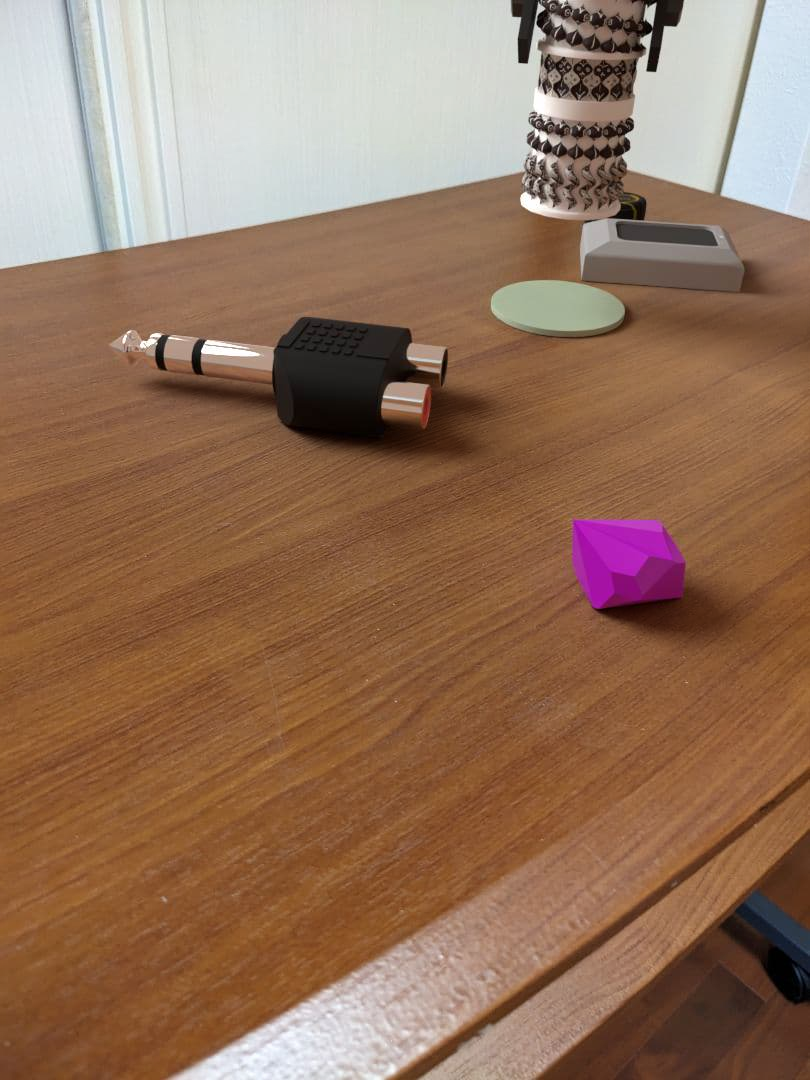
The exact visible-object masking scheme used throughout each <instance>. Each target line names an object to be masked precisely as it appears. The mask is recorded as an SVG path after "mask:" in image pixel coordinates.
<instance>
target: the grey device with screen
mask: <svg viewBox="0 0 810 1080" xmlns="http://www.w3.org/2000/svg"><path fill="white" fill-rule="evenodd" d="M579 257H580V258H579V259H580V279H581V281H582V282H594V283H595V282H597V283H610V284H623V285H637V286H651V287H665V288H677V289H691V290H705V291H716V292H717V291H718V292H719V291H720V292H732V293H740V291H741V287H742V284H743V279H744V275H745V272H746V271H745V270H746V269H745V266H744V263H743V262H742V259H741V257H740V254H739V253H738V251H737V248H736V246H735V244H734V242H733V240H732V238H731V235H730V234H729V232H728V231H727V230H726V228H724V227H722V226H721V225H715V224H713V225H712V224H701V223H700V224H699V223H684V222H683V223H682V222H681V223H680V222H670V221H669V222H667V221H654V220H644V221H640V220H625V219H610V218H606V219H602V220H598V221H594V222H590V223H586V224H585V223H584V224H582V229H581V238H580V244H579Z"/></svg>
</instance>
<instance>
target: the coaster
mask: <svg viewBox="0 0 810 1080" xmlns="http://www.w3.org/2000/svg"><path fill="white" fill-rule="evenodd" d="M490 309H491V312H492V314H493V316H495V317H496V318H497V320H499V321H500V322H502V323H504V324H505V325H507V326H510V327H512V328H514V329H517V330H520V331H523V332H527V333H531V334H535V335H540V336H541V335H542V336H546V337H547V336H548V337H555V338H585V337H592V336H593V337H594V336H597V335H602V334H605V333H608V332H611V331H613V330H615V329H617V328H619V326H621V324H622V323H623V321H624V319H625V315H626V308H625V305H624V303H623V302H622V301H621V300H620V299H619V298H617V297H616V296H615V295H613V294H612V293H610V292H608V291H605V290H603V289H600V288H598V287H595V286H592V285H587V284H584V283H579V282H573V281H568V280H567V281H566V280H557V279H556V280H554V279H537V280H534V279H533V280H525V281H520V282H519V281H518V282H515V283H511V284H508V285H505V286H503V287H501V288H499V289H497V291H496V292H494V293H493V295H492V297H491V299H490Z"/></svg>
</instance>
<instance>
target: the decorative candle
mask: <svg viewBox="0 0 810 1080" xmlns="http://www.w3.org/2000/svg"><path fill="white" fill-rule="evenodd" d="M656 3H657V0H539V2H538V4H539V5H540V6H541V7H543V8H544V9H543V10H542V11H540V12H538V14H537V15H536V20H535V25H536V26H537V28H539V29H540V30H541V32H542V34H544V36H543V37H542V38H539V39H537V41H536V44H535V48H536V49H537V51H540V52H541V53H540V62H539V71H538V80H537V87H535V88H534V98H533V109H534V110H533V111H531V112H530V113H529V115H528V119H527V121H528V124H529V125H530V126H531V127H533V128H534V129H533V130H531V131H530V132H528V133H527V134H526V140H525V141H526V144H527V145H528V146H530V148H532V149H531V150H530V151H529V152H528V153H527V154H526V155H525V156H524V157H523V158H524V159H523V163H522V165H523V169H524V170H525V173H524V175H523V176H522V178H521V187H522V190H523V191H524V192H523V193H522V194H521V195H520V204H521V206H522V208H524V209H526V210H528V211H529V212H531V213H534V214H537V215H540V216H543V217H547V218H554V219H560V220H566V221H567V220H568V221H584V220H595V219H604V218H607V217H610V216H614V215H616V214H617V213H618V211H619V210H620V207H621V205H620V203H619V201H618V197H620V196H621V195H622V194H623V192H625V190H624V187H625V185H624V182H623V181H622V179H623V178H624V177H625V176H626V175H627V174H628V169H627V168H628V163H627V162H626V161H625V159H624V158H623V155H624V154H626V153H628V152H629V151H630V150H631V140H630V139H629V138H628V137H626V135H627V134H629V133H630V132H632V131H633V130H634V129H635V120H634V119H633V118H632V117H631V116H632V115H633V113H634V107H635V101H636V95H635V93H634V85H635V82H636V80H637V76H638V75H637V74H638V70H637V66H638V62H639V60H640V58H642V57H644V56H646V55H647V51H648V50H647V47H646V46H645V45H644V44H643V42H641V40H642V39H643V38H645V37H646V36H648V35H650V34H652V29H653V24H651V23H650V22H649V21H648V20H647V18H645V13H646V9H647V10H648V9H649V8H650V7H651V6H652V5H654V4H655V5H656Z"/></svg>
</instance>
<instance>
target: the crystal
mask: <svg viewBox="0 0 810 1080" xmlns="http://www.w3.org/2000/svg"><path fill="white" fill-rule="evenodd" d="M571 548H572V549H571V562H572V567H573V571H574V574H575V577H576V579H577V581H578V583H579V584H580V587H581V588H582V590H583V592H584V594H585V596H586V598H587V597H588V598H587V600H588V599H589V600H588V602H589V601H590V602H591V604H592V606H593V607H594V608H593V607H592V606H591V607H592V608H593V609H597V610H600V609H607V608H608V609H609V608H616V607H622V606H623V607H624V606H630V605H636V604H637V605H638V604H645V603H650V602H651V603H653V602H659V601H658V600H660V601H666V599H667V600H673V598H674V599H681V598H683V595H684V586H685V585H684V584H685V574H686V565H687V562H686V560H685V558H684V557H683V555H682V552H681V551H680V549H679V547H678V545H677V544H676V542H675V541H674V539H673V538H672V537H671V535H670V533H669V532H668V530H667V529H666V528H665V525H664V524H663V523H661V522H660V521H659V520H658V519H599V518H598V519H595V518H594V519H593V518H591V519H586V518H585V519H583V518H582V519H579V518H577V519H576V518H575V519H573V518H572V541H571ZM680 597H681V598H680ZM590 602H589V603H590ZM591 604H590V605H591Z"/></svg>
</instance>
